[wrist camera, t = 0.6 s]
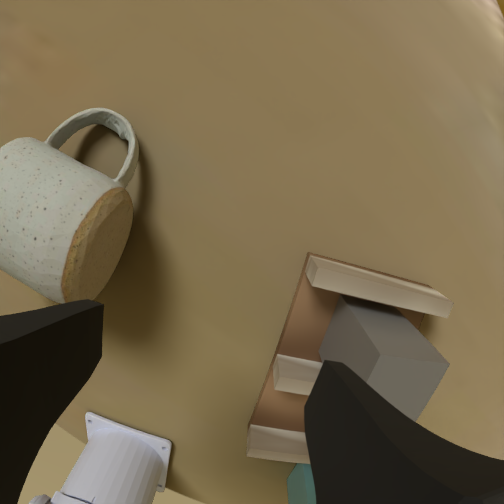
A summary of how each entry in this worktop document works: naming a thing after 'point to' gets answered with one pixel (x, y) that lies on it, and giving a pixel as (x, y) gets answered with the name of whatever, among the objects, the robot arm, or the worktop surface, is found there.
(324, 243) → the worktop surface
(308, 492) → the teal plug
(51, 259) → the ceramic mug
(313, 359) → the brown tray
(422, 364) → the grey plug
